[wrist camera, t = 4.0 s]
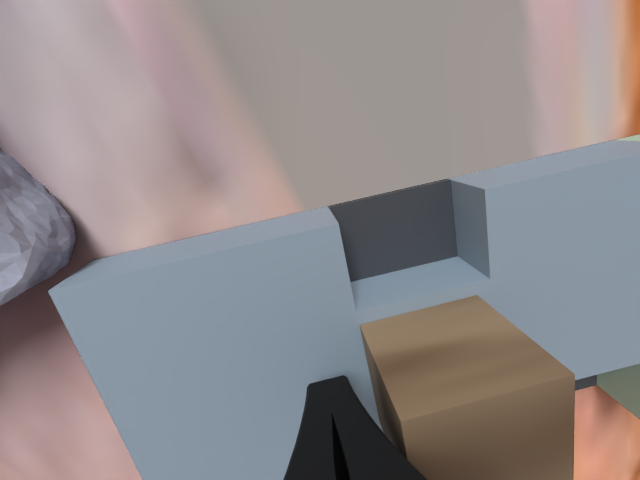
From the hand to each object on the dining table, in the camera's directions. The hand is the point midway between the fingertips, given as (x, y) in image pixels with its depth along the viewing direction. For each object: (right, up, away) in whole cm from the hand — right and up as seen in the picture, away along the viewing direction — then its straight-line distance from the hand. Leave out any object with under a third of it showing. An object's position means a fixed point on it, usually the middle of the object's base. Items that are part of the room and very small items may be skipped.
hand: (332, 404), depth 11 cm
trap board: (+3, +2, +3) cm, 5 cm away
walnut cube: (+3, +1, +1) cm, 4 cm away
